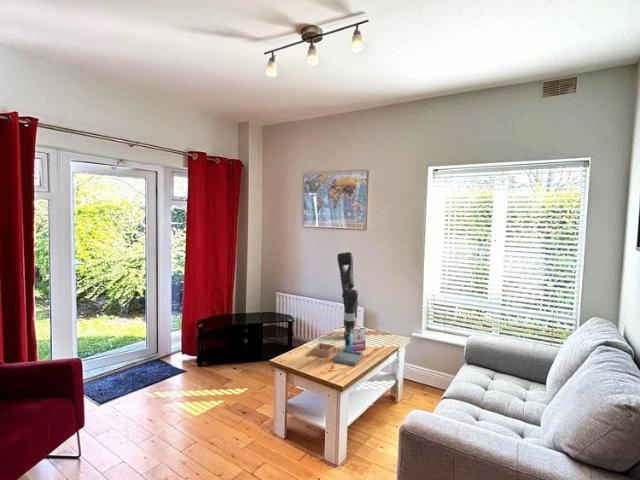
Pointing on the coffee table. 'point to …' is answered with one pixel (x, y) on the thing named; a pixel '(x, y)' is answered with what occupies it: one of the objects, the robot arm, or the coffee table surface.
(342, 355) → the tray
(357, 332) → the candy bar box
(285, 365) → the coffee table surface
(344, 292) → the robot arm
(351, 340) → the teal peg
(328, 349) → the tan square open box
